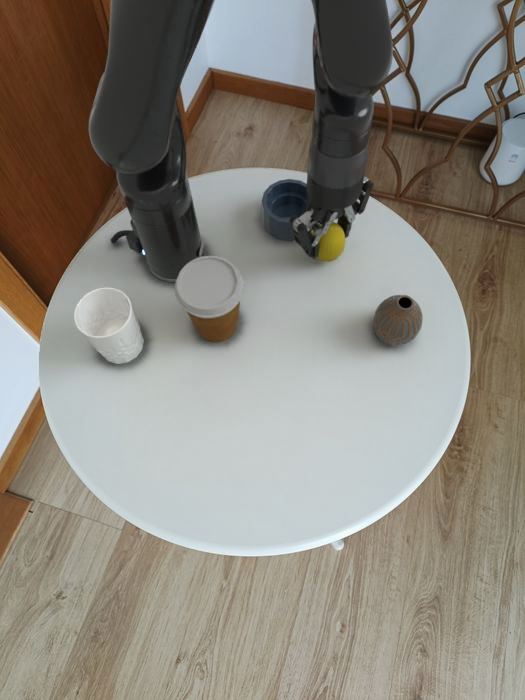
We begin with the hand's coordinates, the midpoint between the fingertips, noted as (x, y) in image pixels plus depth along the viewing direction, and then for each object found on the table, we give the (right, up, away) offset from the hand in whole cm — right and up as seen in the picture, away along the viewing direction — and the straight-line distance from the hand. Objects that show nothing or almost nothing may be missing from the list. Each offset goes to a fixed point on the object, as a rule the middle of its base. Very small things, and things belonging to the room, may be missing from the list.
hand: (326, 244), depth 85 cm
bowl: (-6, +5, +7) cm, 10 cm away
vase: (+10, -14, -3) cm, 17 cm away
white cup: (-32, -16, -3) cm, 36 cm away
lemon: (0, -2, +3) cm, 4 cm away
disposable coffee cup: (-17, -13, -2) cm, 22 cm away
